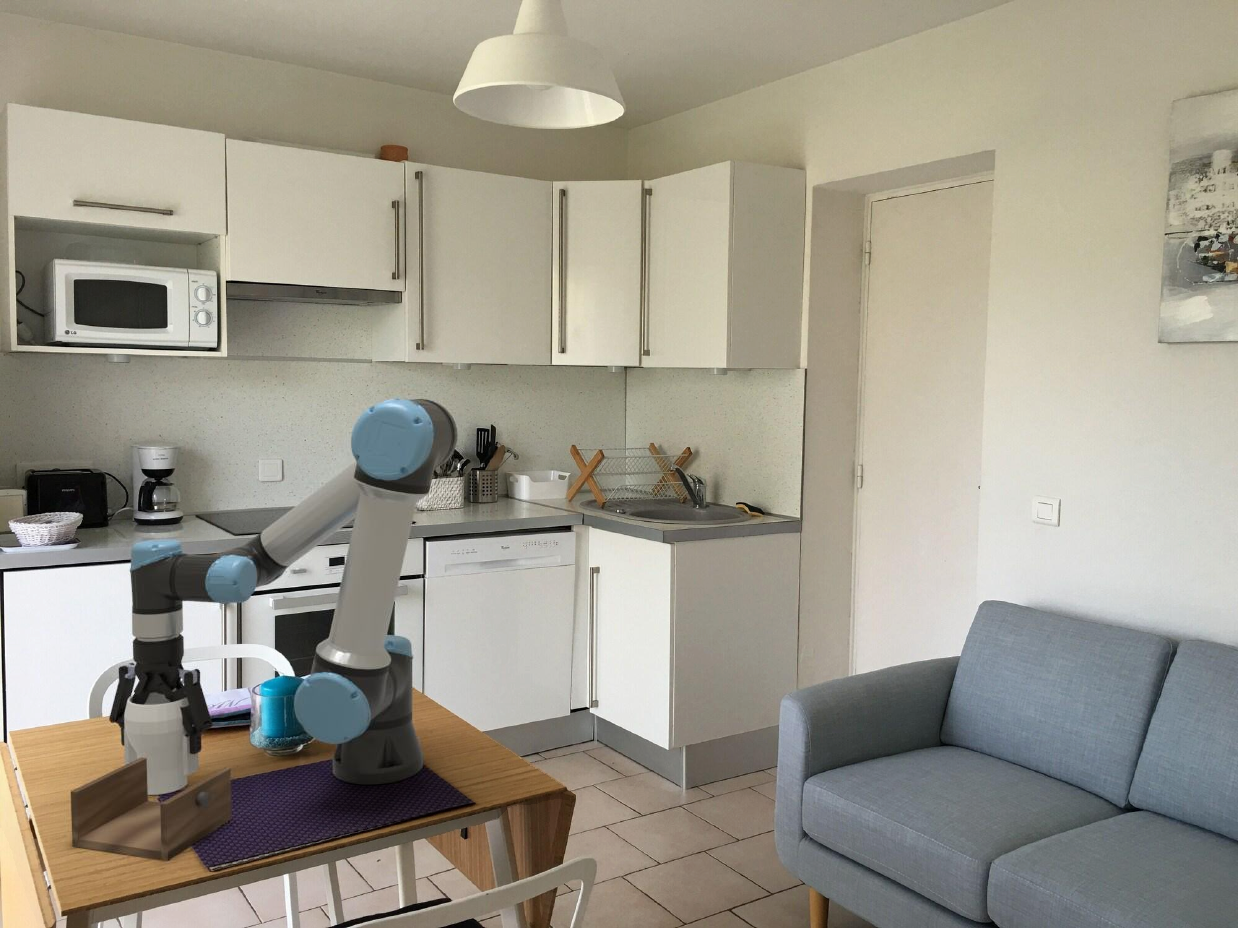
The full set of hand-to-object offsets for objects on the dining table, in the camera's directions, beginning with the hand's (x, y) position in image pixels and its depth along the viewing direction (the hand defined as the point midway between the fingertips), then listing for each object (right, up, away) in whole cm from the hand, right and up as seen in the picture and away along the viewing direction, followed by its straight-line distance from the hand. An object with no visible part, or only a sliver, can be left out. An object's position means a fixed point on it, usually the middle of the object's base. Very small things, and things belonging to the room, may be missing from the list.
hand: (161, 768), depth 167 cm
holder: (+7, -4, -17) cm, 19 cm away
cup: (0, -3, 0) cm, 3 cm away
